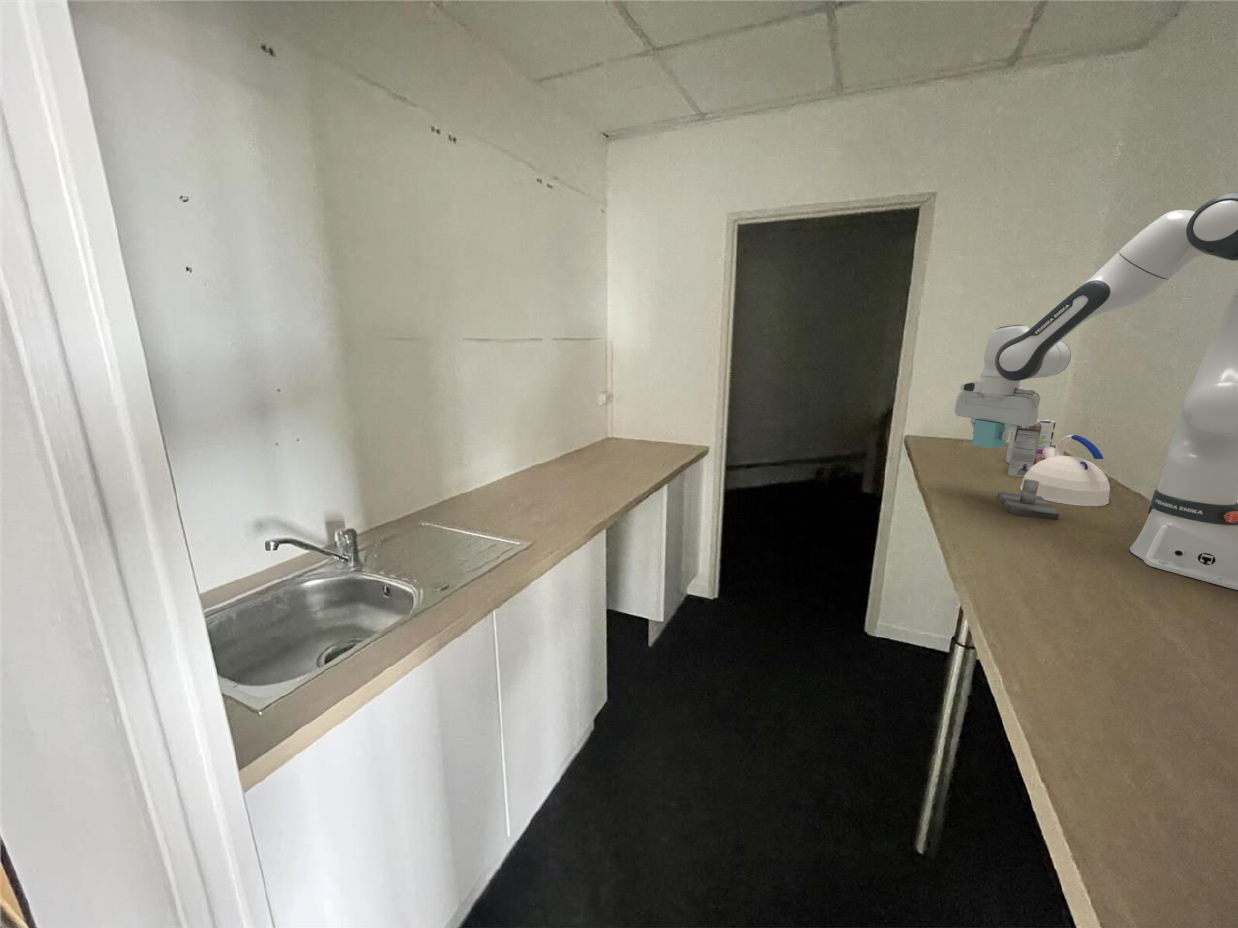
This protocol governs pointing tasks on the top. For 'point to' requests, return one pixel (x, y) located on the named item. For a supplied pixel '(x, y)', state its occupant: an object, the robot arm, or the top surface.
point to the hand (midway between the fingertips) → (989, 437)
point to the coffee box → (1024, 450)
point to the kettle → (1070, 476)
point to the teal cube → (988, 434)
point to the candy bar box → (1044, 439)
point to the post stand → (1028, 502)
